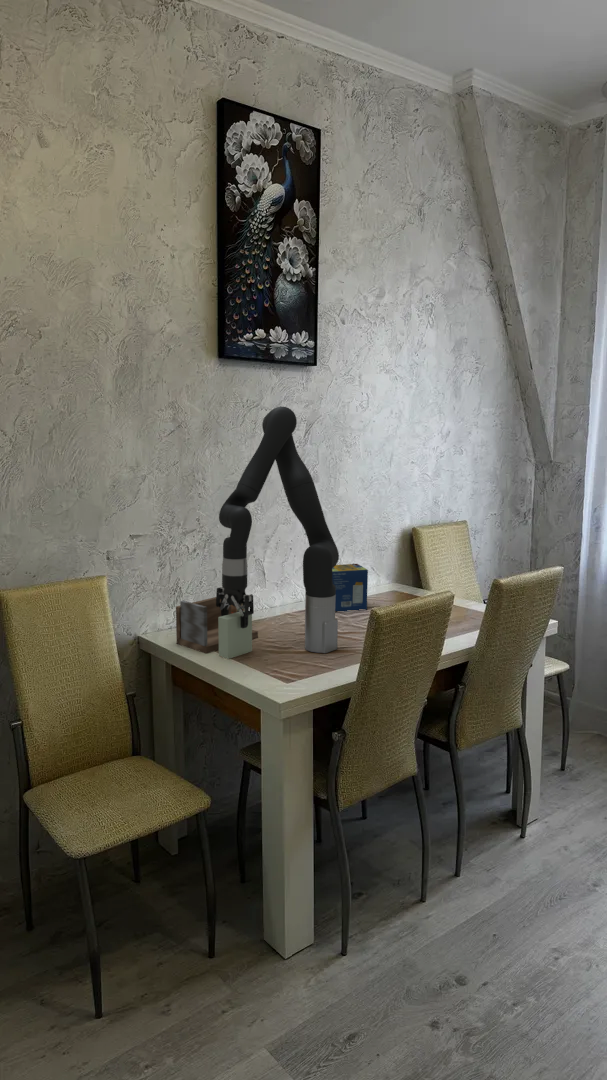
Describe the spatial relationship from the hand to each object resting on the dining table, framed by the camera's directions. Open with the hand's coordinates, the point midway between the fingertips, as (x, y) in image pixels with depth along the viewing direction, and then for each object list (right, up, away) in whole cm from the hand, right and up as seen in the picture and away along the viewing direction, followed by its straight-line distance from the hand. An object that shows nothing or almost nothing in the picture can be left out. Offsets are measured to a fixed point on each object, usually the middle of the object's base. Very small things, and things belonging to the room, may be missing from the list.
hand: (234, 624), depth 226 cm
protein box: (+36, 0, +54) cm, 65 cm away
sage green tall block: (0, -9, +1) cm, 9 cm away
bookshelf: (-6, -7, +13) cm, 16 cm away
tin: (-1, -3, +34) cm, 34 cm away
